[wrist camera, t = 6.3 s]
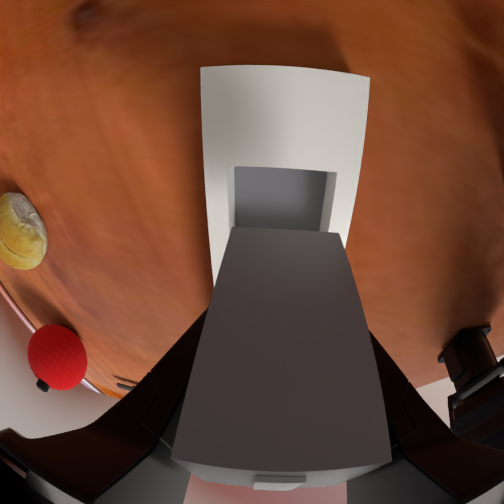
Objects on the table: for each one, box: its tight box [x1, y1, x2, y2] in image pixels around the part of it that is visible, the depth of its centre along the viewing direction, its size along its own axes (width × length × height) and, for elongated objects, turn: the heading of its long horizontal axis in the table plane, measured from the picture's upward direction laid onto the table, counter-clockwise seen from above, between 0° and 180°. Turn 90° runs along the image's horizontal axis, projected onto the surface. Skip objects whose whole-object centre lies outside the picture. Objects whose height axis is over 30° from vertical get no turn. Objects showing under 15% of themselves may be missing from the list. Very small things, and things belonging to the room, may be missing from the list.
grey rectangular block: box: [171, 227, 392, 490], centre depth 8 cm, size 4×4×8 cm
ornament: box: [28, 324, 87, 392], centre depth 26 cm, size 9×9×10 cm
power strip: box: [200, 65, 370, 286], centre depth 19 cm, size 8×26×4 cm, turn 179°
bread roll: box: [0, 192, 48, 270], centre depth 19 cm, size 8×9×4 cm
